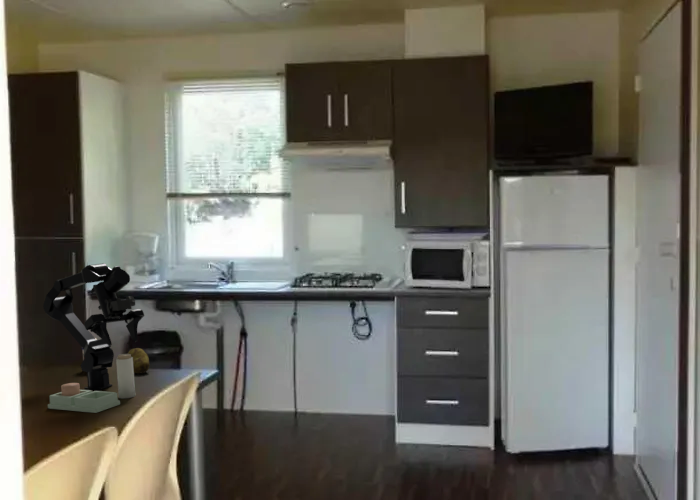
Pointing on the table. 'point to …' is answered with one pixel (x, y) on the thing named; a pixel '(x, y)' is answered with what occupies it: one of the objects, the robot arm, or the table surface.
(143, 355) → the potato
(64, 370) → the table surface
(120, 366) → the spice jar
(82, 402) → the spice stand
